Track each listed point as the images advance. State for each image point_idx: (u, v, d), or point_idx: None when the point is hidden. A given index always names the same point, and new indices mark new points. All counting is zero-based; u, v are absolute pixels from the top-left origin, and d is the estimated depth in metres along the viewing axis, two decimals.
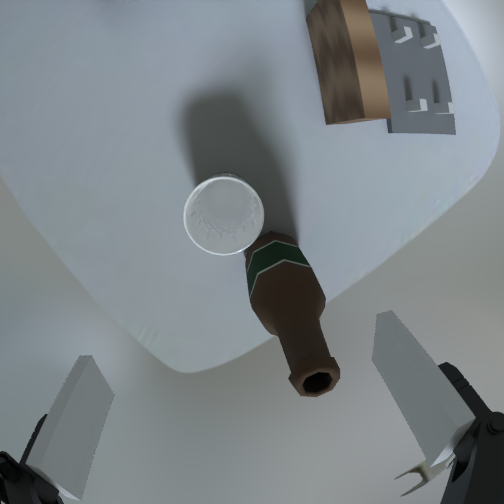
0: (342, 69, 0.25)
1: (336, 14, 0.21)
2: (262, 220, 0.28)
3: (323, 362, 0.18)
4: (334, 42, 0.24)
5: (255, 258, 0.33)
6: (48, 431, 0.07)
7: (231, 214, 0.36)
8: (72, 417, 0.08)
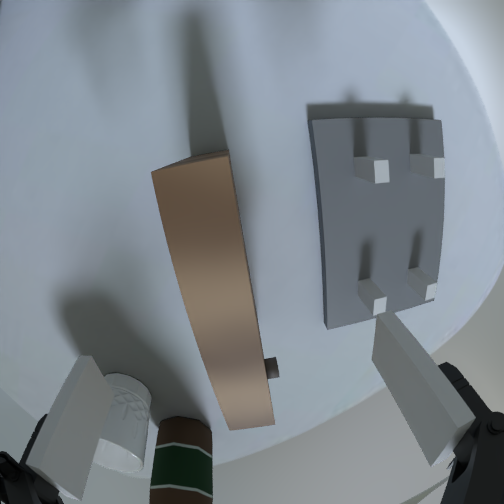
0: None
1: None
2: (141, 463, 0.21)
3: None
4: None
5: (154, 460, 0.26)
6: (48, 431, 0.07)
7: None
8: (72, 416, 0.08)
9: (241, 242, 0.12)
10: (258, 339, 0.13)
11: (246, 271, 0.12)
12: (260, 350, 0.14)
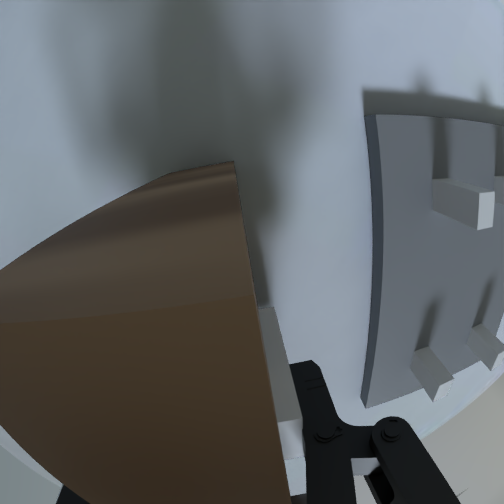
0: None
1: None
2: None
3: None
4: None
5: None
6: None
7: None
8: None
9: None
10: None
11: None
12: None
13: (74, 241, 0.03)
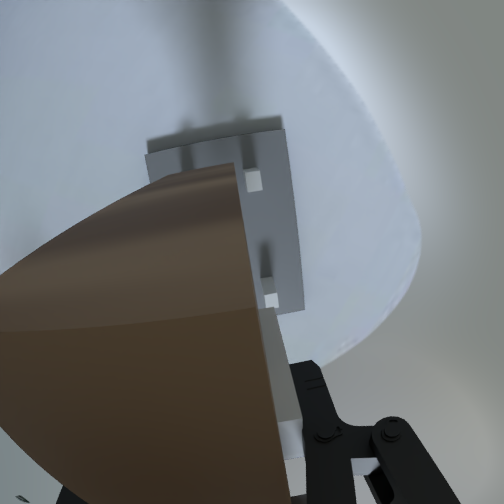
0: None
1: None
2: None
3: None
4: None
5: None
6: None
7: None
8: None
9: None
10: None
11: None
12: None
13: (75, 246, 0.03)
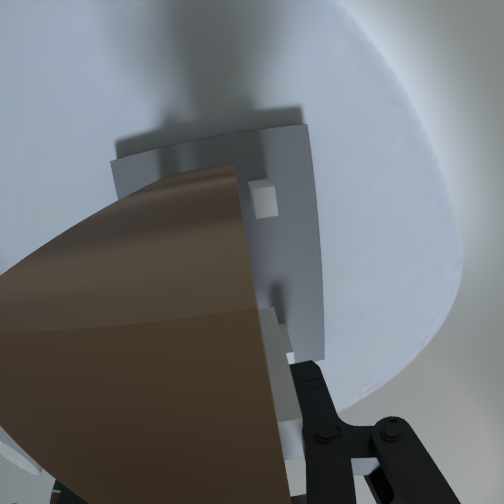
0: None
1: None
2: (36, 468, 0.18)
3: None
4: None
5: None
6: None
7: None
8: None
9: None
10: None
11: None
12: None
13: (75, 246, 0.03)
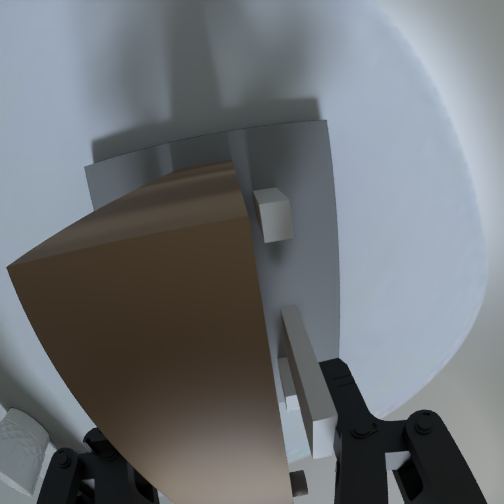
0: None
1: None
2: (27, 491, 0.14)
3: None
4: None
5: None
6: None
7: None
8: None
9: (280, 436, 0.04)
10: None
11: (285, 466, 0.04)
12: None
13: (117, 212, 0.04)
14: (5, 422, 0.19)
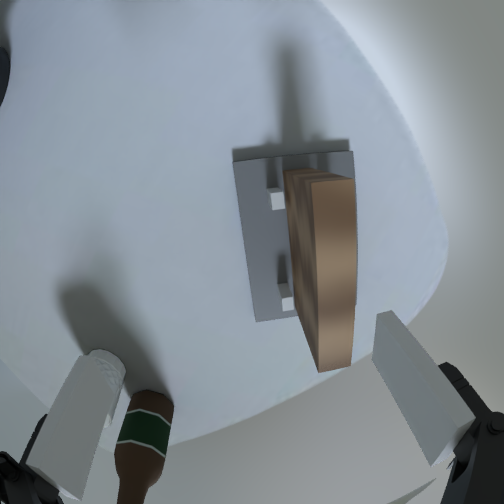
0: (308, 298, 0.25)
1: (309, 234, 0.21)
2: (110, 417, 0.29)
3: None
4: (305, 259, 0.24)
5: (123, 422, 0.34)
6: (48, 431, 0.07)
7: None
8: (72, 417, 0.08)
9: (355, 228, 0.19)
10: (355, 292, 0.21)
11: (355, 246, 0.19)
12: (354, 300, 0.21)
13: (318, 178, 0.20)
14: None
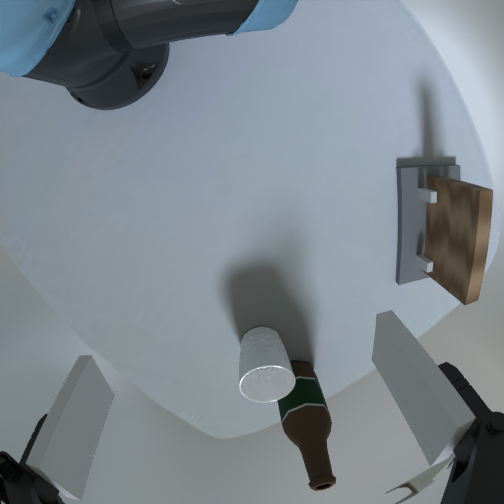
0: (457, 258, 0.33)
1: (469, 218, 0.29)
2: (294, 385, 0.38)
3: (327, 479, 0.27)
4: (457, 234, 0.32)
5: None
6: (48, 431, 0.07)
7: None
8: (72, 417, 0.08)
9: None
10: None
11: (490, 225, 0.28)
12: (486, 256, 0.29)
13: (475, 187, 0.28)
14: (259, 336, 0.42)
